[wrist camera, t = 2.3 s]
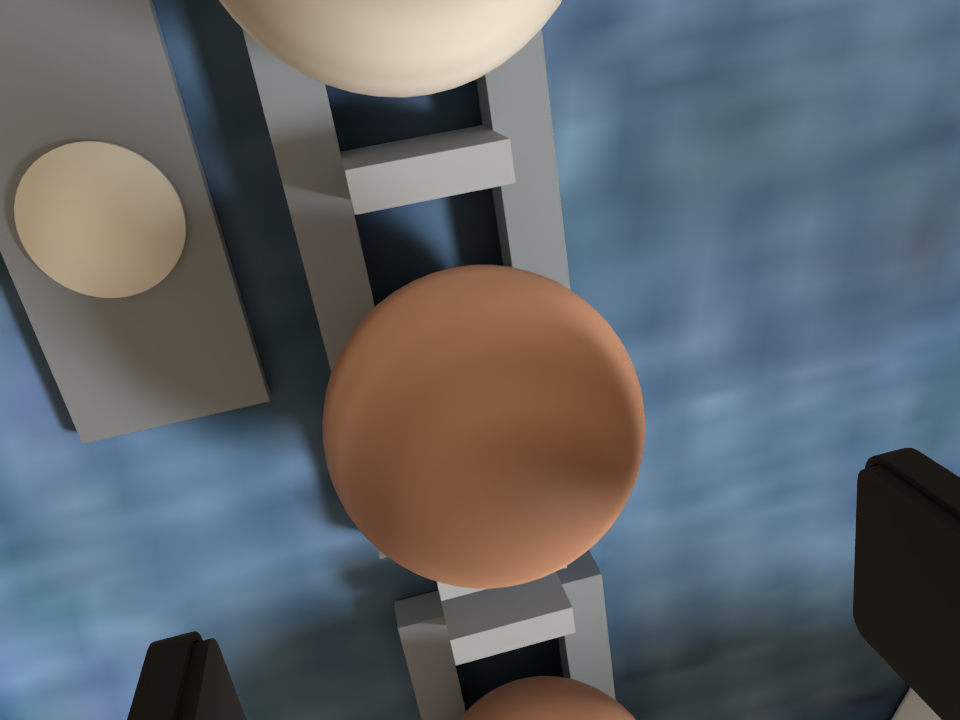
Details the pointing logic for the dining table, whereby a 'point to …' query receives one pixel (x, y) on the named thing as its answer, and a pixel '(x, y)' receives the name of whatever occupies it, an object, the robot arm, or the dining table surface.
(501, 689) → the terracotta ball
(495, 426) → the terracotta ball
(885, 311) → the dining table surface
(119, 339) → the tiles
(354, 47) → the cream ball
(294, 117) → the grey ball rail
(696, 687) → the dining table surface
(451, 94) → the dining table surface
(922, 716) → the jar
